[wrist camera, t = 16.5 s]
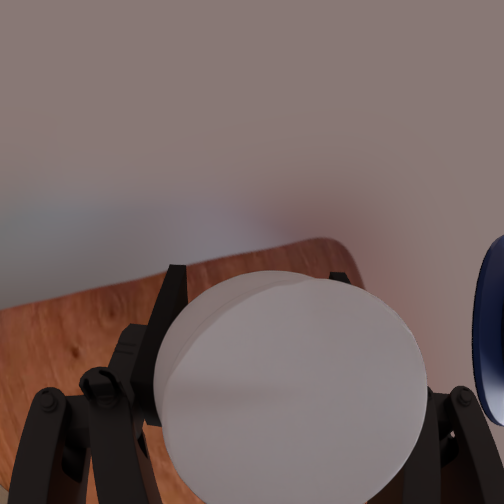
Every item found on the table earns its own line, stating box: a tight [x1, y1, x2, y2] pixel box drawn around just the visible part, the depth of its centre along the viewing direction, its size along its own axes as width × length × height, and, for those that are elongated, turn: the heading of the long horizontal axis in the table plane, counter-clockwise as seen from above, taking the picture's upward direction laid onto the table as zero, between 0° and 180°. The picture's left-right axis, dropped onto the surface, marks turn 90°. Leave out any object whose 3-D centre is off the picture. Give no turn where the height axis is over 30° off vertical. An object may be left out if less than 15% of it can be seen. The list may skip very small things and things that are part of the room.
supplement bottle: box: [153, 270, 427, 504], centre depth 10 cm, size 7×7×13 cm
